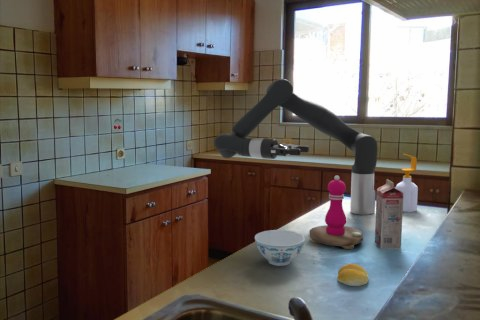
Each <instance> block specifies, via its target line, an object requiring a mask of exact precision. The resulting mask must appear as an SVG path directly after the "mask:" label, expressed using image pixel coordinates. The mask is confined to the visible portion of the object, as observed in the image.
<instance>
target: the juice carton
mask: <svg viewBox="0 0 480 320" xmlns="http://www.w3.org/2000/svg"><path fill="white" fill-rule="evenodd" d="M403 194H404V193H402V192H401V191H399V190H398V189H396V186H395V183H394V182H393V181H391V180H389V179H388V178H387V179H386V180H385V184H384V185H382V186H379V187H378V188H377V189H376V196H375V222H374V223H375V226H374V244H376V246H377V247H379V249H380V250H388V249H390V250H394V249H395V250H401V249H402V235H403V234H402V230H403V214H404V213H403Z"/></svg>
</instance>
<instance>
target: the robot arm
mask: <svg viewBox="0 0 480 320" xmlns="http://www.w3.org/2000/svg"><path fill="white" fill-rule="evenodd" d="M278 107H281V108H283V109H284V110H286V111H289V112H290V113H292V114H293V115H295V116H296V117H298V118H299V119H301V120H302V121H303V122H305V123H307V124H308V125H310V126H311V127H313V128H314V129H315V130H318V132H321V133H323V134H324V135H326V136H329V137H330V138H333V139H335V140H336V141H339V142H340V143H341V144H343V145H344V146H345V147H346V148H348V149H349V150H350V151H352V152H353V153H354V163H353V164H352V165H351V179H350V180H351V181H350V183H351V184H350V213H352V214H354V215H363V216H364V215H365V216H366V215H367V216H368V215H372V214H374V213H376V190H375V187H374V186H375V169H376V167H377V162H378V161H377V160H378V150H379V149H378V148H379V147H378V143H377V140H376V138H375V137H374V136H372V135H370V134H369V135H368V134H366V133H362V132H360V131H358V130H356V129H354V128H352V127H351V126H349V125H348V124H346V123H345V122H344V121H343V120H342V119H341V118H340V117H339V116H337V114H335V113H334V112H332V111H331V110H330V109H328V108H326V107H324V106H323V105H322V104H319V103H317V102H313V101H312V100H311V101H310V100H308V99H305V98H302V97H301V96H299V95H297V94H296V93H295V92H294V88H293V84H292V82H291V81H289V80H288V79H285V78H279V79H276V80H274V81H273V82H272V83H270V84H269V85H268V86H267V89H266V93H265V94H264V96H263V97H262V98H261V99H260V100H259V101H258V102H257V103H256V104H255V105H253V107H252V108H251V109H249V110H247V112H246V113H245V114H244V115H243V116H241V117H240V119H238V121H237V122H236V123H235V124H233V126H232V127H231V132H232V134H231V133H221V134H219V135H217V136H216V137H215V138H214V139H213V140H214V141H213V146H214V147H215V149H216V150H217V152H218V153H219V154H220V156H221V157H223V158H224V159H231V158H232V157H234V156H235V155H237V154H238V156H241V157H246V158H247V157H250V158H252V157H253V158H255V159H265V160H267V159H269V160H274V159H276V158H277V157H278V156H281V157H282V156H283V157H287V156H301V153H309V151H310V147H309V145H300V144H293V143H281V144H279V142H278V140H277V139H276V138H265V137H257V138H252V137H251V138H249V136H250V134H252V133H253V132H254V130H256V129H257V127H259V126H260V124H261V123H262V122H263V121H265V119H266V118H267V117H268V116H269V115H270V114H271V113H272V112H273V111H274V110H275V109H276V108H278ZM247 137H248V138H247Z"/></svg>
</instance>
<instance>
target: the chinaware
mask: <svg viewBox="0 0 480 320" xmlns="http://www.w3.org/2000/svg"><path fill="white" fill-rule="evenodd" d="M305 239H306V237H304V235H303V234H301V233H299V232H297V231H293V230H287V229H273V230H272V229H270V230H264V231H261V232H260V231H259V232H258V233H256V234H255V235H254V241H255V245H256V248H257V250H258V252H259V253H260V254H261V256H262V257H264V258H265V259H266V260H267V262H268V264H270V265H273V266H277V267H284V266H287V265H289V264H291V261H293V260H294V259H295V258H297V256H298V255H299V254H300V253H301V251H302V250H303V247H304V244H305Z"/></svg>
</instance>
